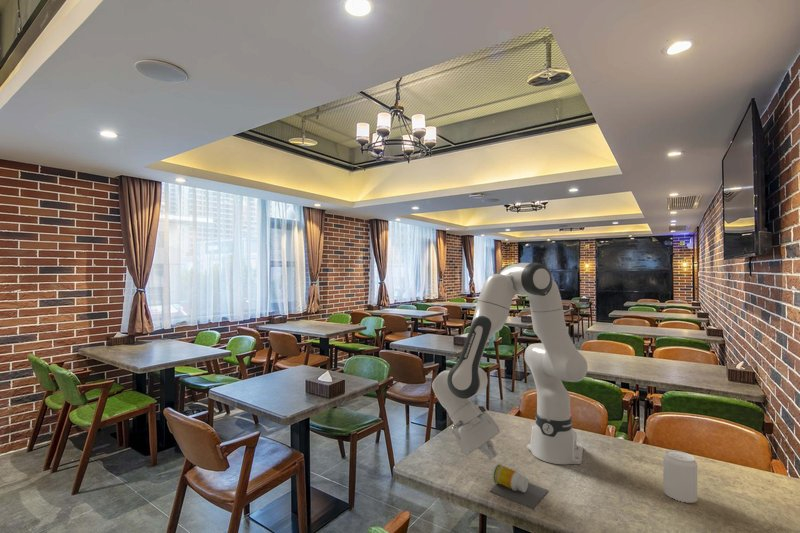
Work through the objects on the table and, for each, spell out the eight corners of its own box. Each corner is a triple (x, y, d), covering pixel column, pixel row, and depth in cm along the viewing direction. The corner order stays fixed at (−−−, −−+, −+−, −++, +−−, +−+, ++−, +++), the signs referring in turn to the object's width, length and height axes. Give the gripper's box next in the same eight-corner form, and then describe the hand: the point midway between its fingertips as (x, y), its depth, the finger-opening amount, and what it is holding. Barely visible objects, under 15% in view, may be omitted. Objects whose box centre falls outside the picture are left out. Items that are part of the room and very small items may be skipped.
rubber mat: (506, 476, 123) (506, 475, 123) (548, 491, 115) (548, 490, 115) (489, 491, 114) (489, 490, 114) (533, 509, 106) (533, 508, 106)
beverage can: (698, 508, 108) (698, 464, 108) (663, 498, 112) (663, 457, 113) (695, 494, 115) (695, 453, 115) (662, 486, 119) (662, 447, 119)
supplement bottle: (501, 463, 122) (530, 474, 115) (499, 481, 120) (528, 494, 114) (493, 463, 118) (522, 475, 111) (490, 482, 117) (519, 495, 110)
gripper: (456, 421, 117) (485, 464, 110) (486, 404, 133) (513, 441, 126) (443, 432, 119) (471, 475, 113) (474, 414, 135) (500, 451, 129)
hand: (494, 457), depth 120 cm, fingers closed
